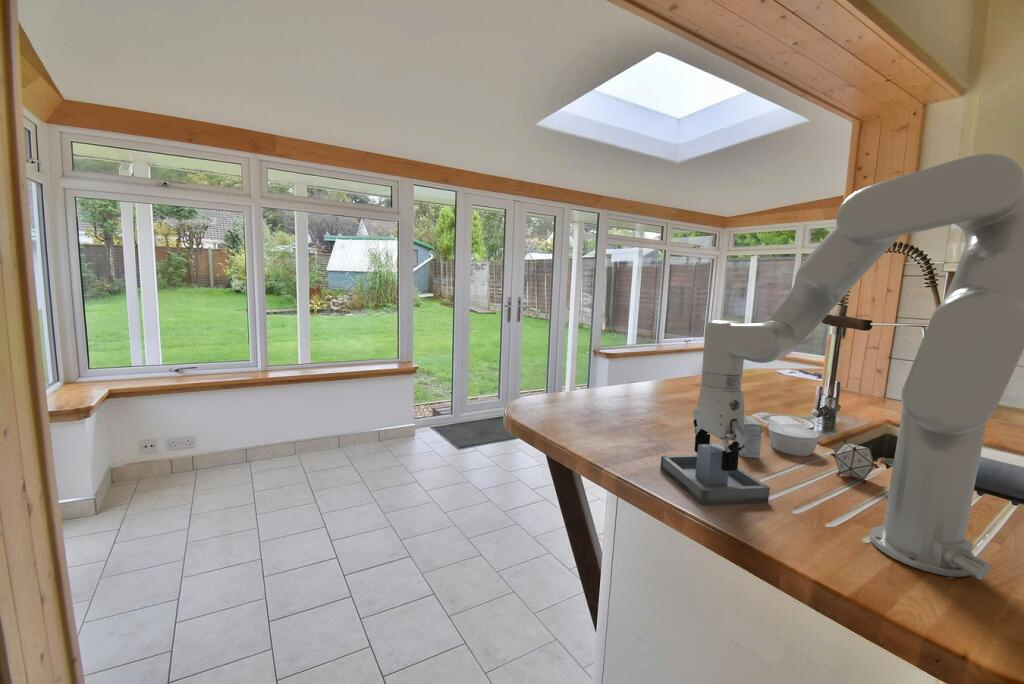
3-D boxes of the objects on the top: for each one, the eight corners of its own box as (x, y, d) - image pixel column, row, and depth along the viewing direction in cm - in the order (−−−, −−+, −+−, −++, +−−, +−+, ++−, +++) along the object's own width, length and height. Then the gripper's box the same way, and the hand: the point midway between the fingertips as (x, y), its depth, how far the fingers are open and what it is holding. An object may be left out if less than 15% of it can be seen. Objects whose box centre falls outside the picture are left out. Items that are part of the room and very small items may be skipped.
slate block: (727, 483, 94) (730, 451, 93) (707, 484, 93) (710, 452, 92) (714, 474, 99) (717, 443, 98) (695, 475, 98) (698, 444, 97)
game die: (852, 497, 101) (853, 470, 95) (821, 469, 108) (820, 443, 102) (889, 478, 101) (891, 451, 95) (855, 452, 108) (856, 425, 102)
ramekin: (756, 444, 122) (759, 425, 121) (787, 440, 126) (789, 422, 125) (795, 460, 111) (798, 439, 111) (827, 455, 115) (829, 435, 115)
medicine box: (759, 459, 111) (763, 425, 110) (740, 457, 112) (743, 423, 111) (749, 447, 119) (753, 415, 118) (731, 446, 120) (734, 414, 118)
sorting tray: (768, 502, 89) (769, 487, 88) (702, 505, 87) (703, 490, 86) (716, 466, 106) (718, 454, 105) (660, 468, 103) (661, 455, 103)
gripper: (767, 390, 85) (759, 477, 87) (713, 372, 102) (707, 445, 104) (730, 390, 84) (723, 478, 86) (682, 372, 101) (677, 446, 103)
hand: (714, 460), depth 95 cm, fingers open, 9 cm apart
